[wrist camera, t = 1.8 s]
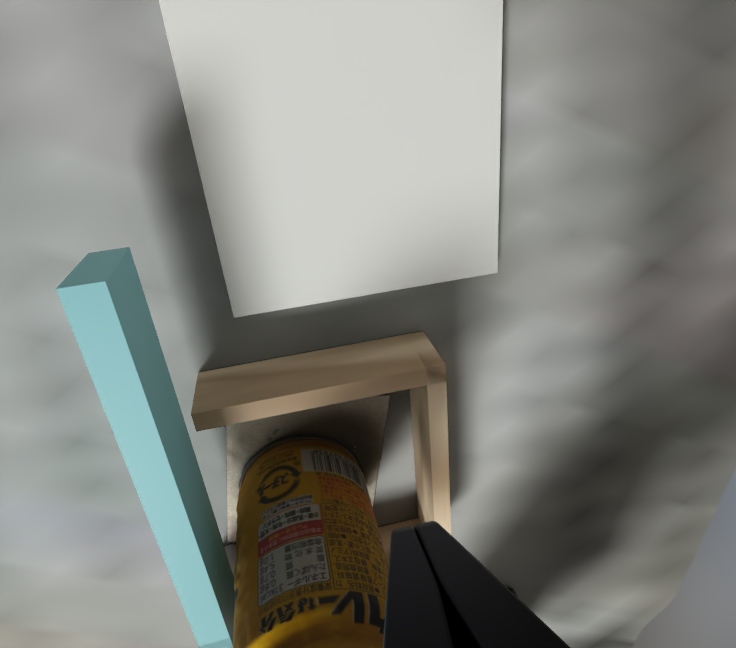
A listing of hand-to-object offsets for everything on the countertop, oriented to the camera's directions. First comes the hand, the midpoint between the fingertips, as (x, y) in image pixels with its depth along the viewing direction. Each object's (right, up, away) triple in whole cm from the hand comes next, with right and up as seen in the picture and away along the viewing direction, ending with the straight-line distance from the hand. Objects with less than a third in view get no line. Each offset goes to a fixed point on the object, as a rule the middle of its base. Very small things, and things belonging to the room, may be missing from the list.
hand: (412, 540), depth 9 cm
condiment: (-4, -3, +16) cm, 16 cm away
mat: (-1, +10, +10) cm, 14 cm away
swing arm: (-8, -1, +10) cm, 13 cm away
